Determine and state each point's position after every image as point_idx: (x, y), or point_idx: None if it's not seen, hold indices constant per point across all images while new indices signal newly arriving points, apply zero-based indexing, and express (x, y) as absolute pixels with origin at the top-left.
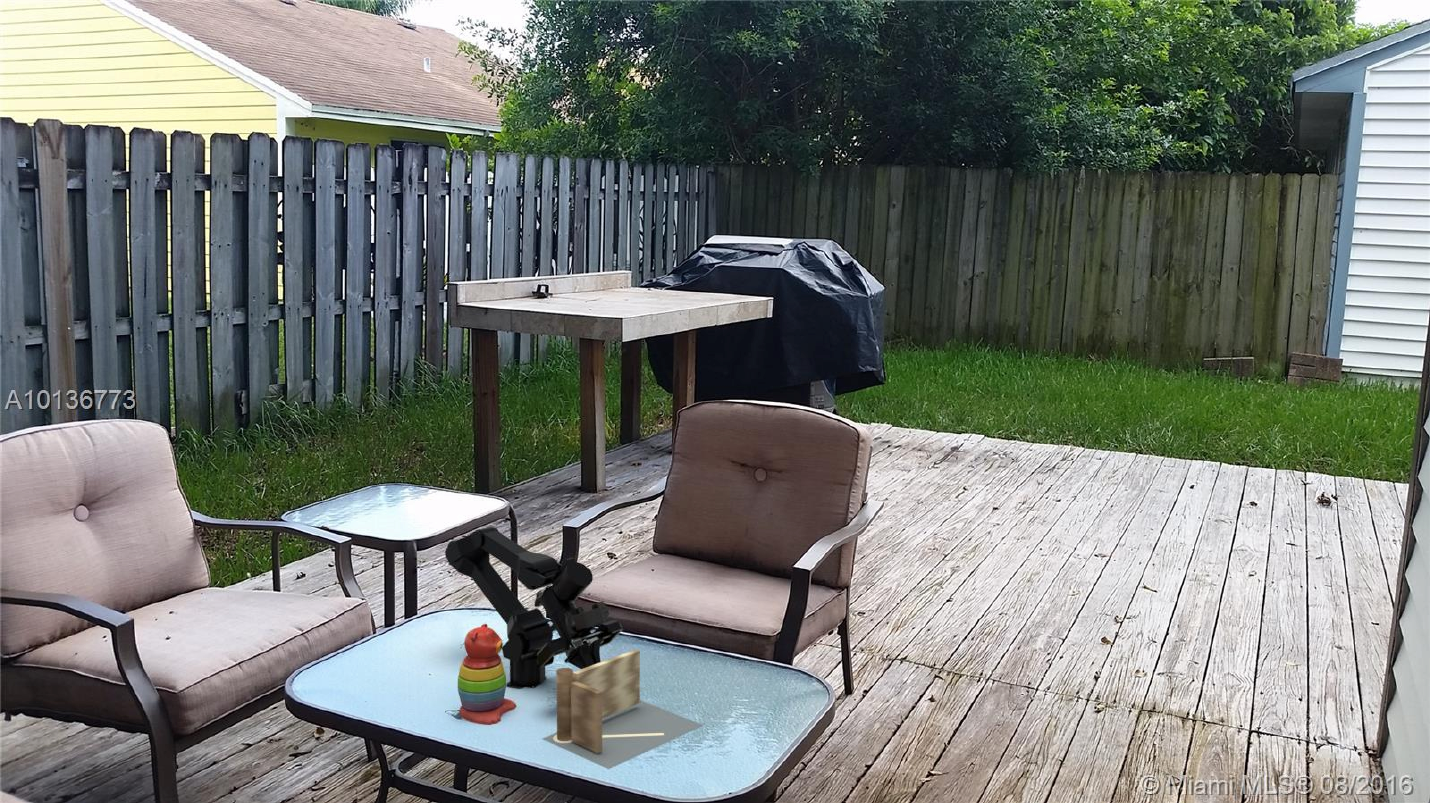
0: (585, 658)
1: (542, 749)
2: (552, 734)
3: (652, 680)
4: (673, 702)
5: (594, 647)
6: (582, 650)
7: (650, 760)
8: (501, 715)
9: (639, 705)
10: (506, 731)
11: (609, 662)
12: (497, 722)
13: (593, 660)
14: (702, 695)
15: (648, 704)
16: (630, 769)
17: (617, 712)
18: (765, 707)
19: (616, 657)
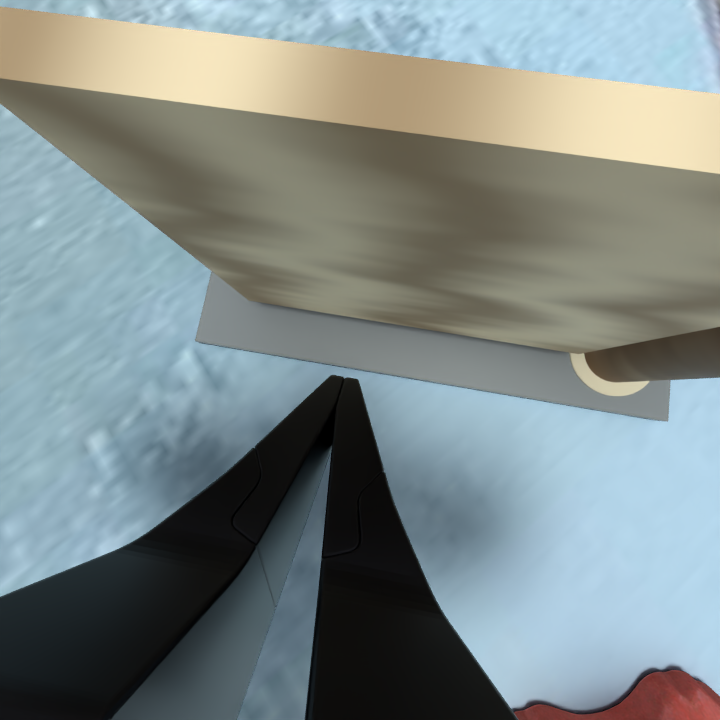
0: (412, 550)
1: (699, 379)
2: (617, 411)
3: (3, 414)
4: (143, 241)
5: (190, 600)
6: (481, 681)
7: (537, 68)
8: (621, 716)
9: (238, 303)
10: (682, 595)
11: (520, 77)
12: (685, 678)
13: (290, 506)
14: (47, 195)
15: (215, 282)
16: (619, 79)
17: (331, 331)
18: (46, 3)
19: (336, 95)
